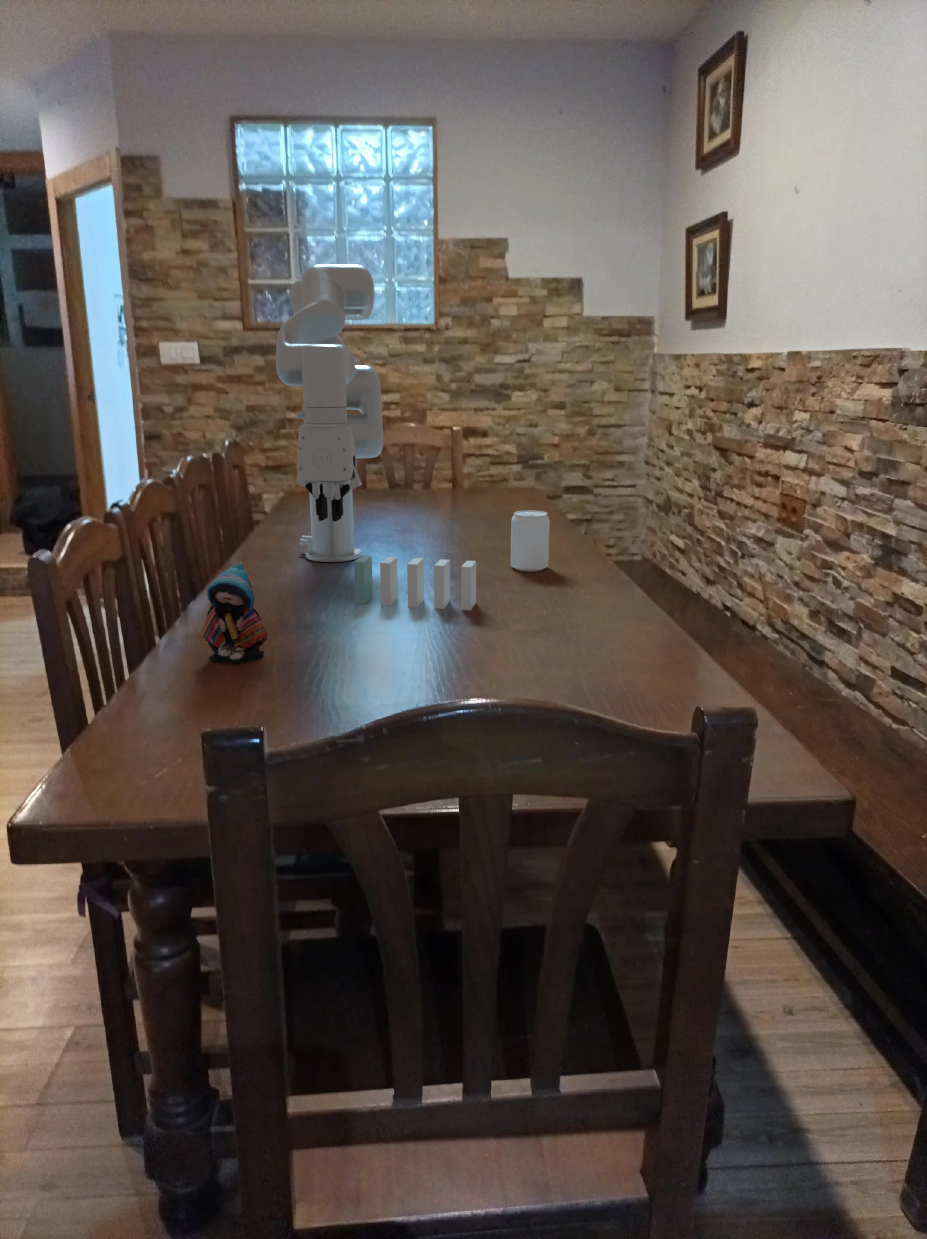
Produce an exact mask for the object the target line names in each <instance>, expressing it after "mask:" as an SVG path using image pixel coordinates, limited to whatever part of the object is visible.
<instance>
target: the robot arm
mask: <svg viewBox="0 0 927 1239" xmlns="http://www.w3.org/2000/svg"><path fill="white" fill-rule="evenodd" d="M373 280H374V279H373V277H372V274H371V272H370V270H368V269H367V268H366V267H365V266H363V265H360V264H341V263H340V264H338V263H336V264H331V263H330V264H329V263H327V264H326V263H324V264H323V263H322V264H314V265H312V266H309V267H308V268H307V269H305V271H304V272H303V273H302V276H301V278H300V279H298V280H295V281H294V282H293V283H292V284H291V287H290V291H289V293H290V294H289V296H290V297H289V298H290V304H291V308H292V313H293V315H292V316H291V317H289V318H288V319H287V320H286V321H285V322H283V323H282V325H281V327H280V329H279V331H278V333H277V336H276V345H275V346H276V347H275V348H276V349H275V369H276V373H277V376H278V378H279V380H280V381H281V383H283V384H284V385H286V386H289V387H302V396H303V398H302V399H303V407H302V409H298V410H297V411H296V417H297V419H302V420H303V424H300V425H299V430H298V437H297V447H296V448H297V451H296V452H297V454H296V474H297V476H296V478H295V484H296V485H298V486H299V487H302V488H305V489H306V490H307V491H308V492H309V510H310V512H309V514H310V532H311V535H301V537H300V539H299V542H298V544H299V545H300V546H307V550H305V558H306V559H307V560H310V561H314V562H319V563H320V562H322V563H338V562H347V561H348V562H349V561H353V560H354V561H355V560H357V559H358V558H360V557H361V556H362V549H360V548H358V547H355V537H354V536H355V534H354V532H355V531H354V529H355V528H354V527H355V526H354V506H353V505H354V503H353V502H354V501H353V489H356V488H358V487H360V486H362V480H361V477H360V475H359V473H358V464H357V463H358V462H357V461H358V460H357V459H373V458H377V457H379V456H380V455H381V453H382V450H383V449H384V448H383V446H384V429H383V428H384V427H383V426H384V425H383V408H382V406H383V405H382V389H381V382H380V377H379V373H378V372H377V370H376V369H375V368H374V367H372V366H371V365H364V364H363V365H362V364H356V358H355V354H354V353H352V351H351V349H350V348H349V347H348V346H347V345H345V343H344V341H343V339H342V337H341V336H340V335H339V334H340V333H341V332H342V331H343V329H344V328H345V323H346V321H362V320H366V319H368V318H369V317H370V316H371V314H372V312H373V308H374V301H375V284H374V281H373ZM347 410H348V411H349V410H350V411H351V410H353V411H355V410H356V411H358V412H360V413H359V414H351V413H350V414H349V413H348V411H347Z"/></svg>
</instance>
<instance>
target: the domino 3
mask: <svg viewBox="0 0 927 1239" xmlns="http://www.w3.org/2000/svg"><path fill="white" fill-rule="evenodd" d="M406 567H407V568H406V571H407V573H406V575H407V581H406V582H407V608H418V607H420V605H421V604H422V603H423V601H424V600H425V593H424V592H425V589H424V588H425V582H424V581H425V579H424V578H425V577H424V576H425V574H424V572H425V571H424V567H425V566H424V558H423V557H421V558H419V557H418V558H417V557H414V558H412V559H411V560H410V561H409V562H408V563H407V564H406Z"/></svg>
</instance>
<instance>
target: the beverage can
mask: <svg viewBox="0 0 927 1239" xmlns="http://www.w3.org/2000/svg"><path fill="white" fill-rule="evenodd" d="M550 522H551V521H550V518H549V516H548V512H547V511H543V510H542V511H541V510H532V509H531V510H518V511H515V512H513V516H512V517H511V523H510V524H511V529H510V531H511V532H510V534H511V535H510V567H512V568H513V569H515V570H517V571H520V572H530V573H531V572H540V571H543V570H545V569H547V568H548V566H549V555H550V554H549V553H550V552H549V548H550V547H549V546H550Z"/></svg>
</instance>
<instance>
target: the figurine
mask: <svg viewBox="0 0 927 1239" xmlns="http://www.w3.org/2000/svg"><path fill="white" fill-rule="evenodd" d="M206 593H207V594H206V595H207V600H208V601H209V603H210V607H209V610H207V615H206V620H205V621H204V624H203V628H202V632H201V634H200V635H201V637H202V638H203V639H204V641H206V642H207V643H208V645H209V647H210V649H211V650H212V652H214V653H212V654H211V655H210V656H209V657H208V660H209V661H210V662H213V663H215V662H216V663H217V662H218V663H219V662H222V663H247V662H250V661H256V660H259V659H262V658H263V657H264V653H265V651H264V650H260V647H261V646H263V644H264V643H265V642H266V641H267V640H268V633H267V631H266V628H265V626H264V624H263V622H262V619H261V617H260V615H259V613H258V611H257V610H256V609H255V608H254V607H255V593H254V591H253V587H252V583H251V581H250V580H249V577H248V574H247V571H246V570H245V568H244V565H243V562H242V561H240V560H238V562H237V563H234V564H232V565H230V567H229V568H227V569H226V570H224V571H223V572H222V573H220V574H219V575H218V576H216V578H215V579H213V581H212V583H211V584H209V585H208V587H207V589H206Z"/></svg>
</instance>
